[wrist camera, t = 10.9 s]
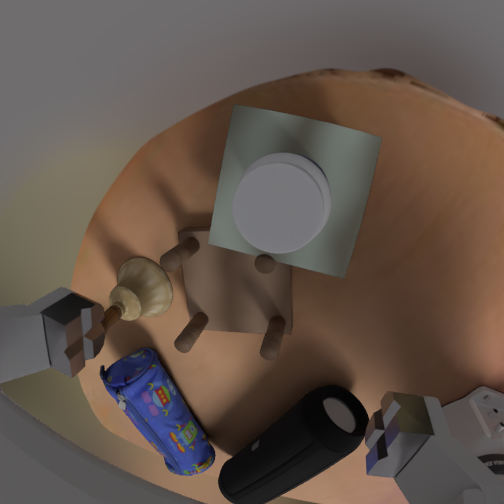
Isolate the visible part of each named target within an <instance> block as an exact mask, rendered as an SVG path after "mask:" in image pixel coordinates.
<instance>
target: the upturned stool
mask: <svg viewBox="0 0 504 504" xmlns="http://www.w3.org/2000/svg"><path fill="white" fill-rule="evenodd" d="M210 229H211V227H197V228H184V229H182V230H180V231H179V232H178V236H179V244H178V245H177V246H175V247H174V248H172V249H171V250H169V251H168V252H166V253H165V254H163V255H162V256H161V258H160V265H161V267H162V268H163V269H164V270H165V271H167V272H173V271H174V270H176V269H177V268H178V267H179V266H180V265H182V268H183V276H184V283H185V290H186V297H187V303H188V310H189V316H190V322H189V323H188V324H187V326H186V327H185V328H184V330H183V331H182V332H181V334H180V335H179V336H178V337H177V339H176V340H175V342H174V345H175V347H176V349H177V350H178V351H180V352H182V353H187V352H189V351H190V349H191V348H192V346H193V345H194V343H195V342H196V340H197V339H198V337H199V336H200V334H201V333H202V331H203V330H214V331H228V332H244V333H264V334H265V337H264V340H263V343H262V346H261V349H260V355H261V356H262V357H263V358H264V359H266V360H274V359H276V358H277V357H278V354H279V350H280V346H281V341H282V337H283V334H290V335H291V332H292V327H293V303H292V265H289V264H285V263H281V262H277V261H275V260H274V258H273V257H272V256H271V257H272V258H271V257H270V256H268V254H261V256H262V255H263V256H262V257H261V256H260V255H259V256H254V255H250V254H246V253H242V252H239V251H235V250H231V249H227V248H223V247H219V246H215V245H212V244H208V241H209V235H210ZM266 255H267V256H266ZM264 256H265V257H267V259H266V258H265V257H264ZM269 257H270V258H269ZM269 259H272V260H269Z"/></svg>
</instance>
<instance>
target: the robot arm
mask: <svg viewBox="0 0 504 504" xmlns="http://www.w3.org/2000/svg"><path fill="white" fill-rule="evenodd" d="M103 319H104V307H103V306H102V305H101V304H100V303H97V302H95V301H93V300H91V299H89V298H87V297H84V296H82V295H80V294H78V293H75V292H74V291H71V290H69V289H67V288H64V287H60V288H58V289H56V290H54V291H53V292H51V293H49V294H47V295H45V296H44V297H42V298H40V299H38V300H37V301H35V302H33V303H31V304H30V305H28V306H26V305H25V304H21V305H12V306H1V307H0V383H3V382H6V381H9V380H13V379H16V378H19V377H22V376H26V375H29V374H32V373H35V372H39V371H42V370H45V369H48V368H50V366H51V367H53V368H55V369H56V370H58V371H60V372H62V373H64V374H66V375H67V376H69V377H71V378H73V377H74V376H75V375H76V374H77V373H78V372H79V371H81V370H82V369H83V368H84V367H85V360H88V359H93V358H95V357H96V356H97V355H98V354H99V353H100V351H101V349H102V347H103V345H104V340H105V330H104V328H103V326H102V324H101V321H102V320H103ZM365 444H366V446H367V447H368V448H369V449H370V451H369V453H368V454H367V455H366V470H367V475H372V476H380V477H389V478H395V479H394V480H395V482H396V483H397V485H398V486H399V488H400V490H401V491H402V493H403V494H404V496H405V497H406V499H407V500H408V502H409V504H504V394H503V393H500V392H498V391H495V390H493V389H490V388H488V387H485V386H482V387H479V388H477V389H476V390H474V391H473V392H471V393H470V394H469V395H467V396H466V397H464V398H462V399H460V400H457V401H455V402H452V403H450V404H448V405H446V406H444V407H442V408H441V405H440V402H439V400H438V399H437V398H436V397H430V396H417V395H411V394H404V393H398V392H392V391H388V392H387V393H386V394H385V395H384V397H383V398H382V400H381V409H380V410H378V411H376V412H374V413H373V415H372V417H371V419H370V420H369V422H368V426H367V429H366V434H365ZM0 504H206V503H203V502H200V501H197V500H195V499H192V498H189V497H186V496H183V495H181V494H178V493H175V492H173V491H170V490H168V489H165V488H163V487H160V486H158V485H155V484H153V483H151V482H149V481H146V480H144V479H142V478H140V477H137V476H135V475H133V474H131V473H129V472H127V471H125V470H123V469H121V468H119V467H117V466H115V465H113V464H111V463H109V462H107V461H105V460H103V459H101V458H99V457H98V456H96V455H94V454H92V453H90V452H89V451H87V450H85V449H83V448H82V447H80V446H78V445H77V444H75V443H73V442H72V441H70V440H69V439H67V438H65V437H64V436H62V435H60V434H59V433H57V432H56V431H54V430H53V429H51V428H50V427H48V426H47V425H46V424H44V423H43V422H41V421H40V420H38V419H37V418H36V417H34V416H33V415H31V414H30V413H29V412H27V411H26V410H24V409H23V408H22V407H21V406H19V405H18V404H17V403H15V402H14V401H13V400H12V399H10V398H9V397H8V396H7V395H5V394H4V393H3V392H2V389H1V386H0Z"/></svg>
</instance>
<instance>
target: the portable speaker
mask: <svg viewBox="0 0 504 504" xmlns="http://www.w3.org/2000/svg"><path fill="white" fill-rule="evenodd" d="M368 422H369V417H368V414H367V412H366V410H365V408H364V406H363V405H362V403H361V402H360V401H359V400H358V399H357V398H356V397H355V396H354V395H353V394H352V393H351V392H349V391H348V390H346V389H344V388H343V387H340V386H337V385H326V386H324V387H321V388H318V389H316V390H313V391H310V392H308V393H307V394H306V395H305V396H304V397H303V398H302V399H301V400H300V401H299V402H298V403H297V404H296V405H294V406H293V407H292V408H291V409H290V410H289V411H288V412H287V413H285V414H284V415H283V416H282V417H281V418H280V419H279V420H277V421H276V422H275V423H274V424H273V425H272V426H270V427H269V428H268V429H267V430H266V431H265V432H263V433H262V434H261V435H260V436H258V437H257V438H256V439H255V440H254V441H252V442H251V443H250V444H249V445H247V446H246V447H245V448H244V449H242V450H241V451H240V452H238V453H237V454H236V455H235V456H233V457H232V458H231V459H229V460H227V461H226V462H225V463H224V465H223V466H222V469H221V471H220V475H219V479H218V484H219V488H220V491H221V493H222V494H223V496H224V497H225V498H226V499H227V500H228V501H230V502H231V503H233V504H265V503H267V502H269V501H271V500H273V499H275V498H277V497H279V496H281V495H283V494H285V493H287V492H288V491H290V490H292V489H294V488H296V487H297V486H299V485H301V484H303V483H304V482H306V481H308V480H310V479H311V478H313V477H315V476H316V475H318V474H319V473H321V472H323V471H324V470H326V469H328V468H329V467H331V466H332V465H334V464H335V463H337V462H338V461H340V460H341V459H343V458H344V457H346V456H347V455H349V454H350V453H352V452H353V451H354V450H355V449H357V447H358V446H359V445H360V443H361V442H362V440H363V439H364V437H365V434H366V429H367V426H368Z"/></svg>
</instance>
